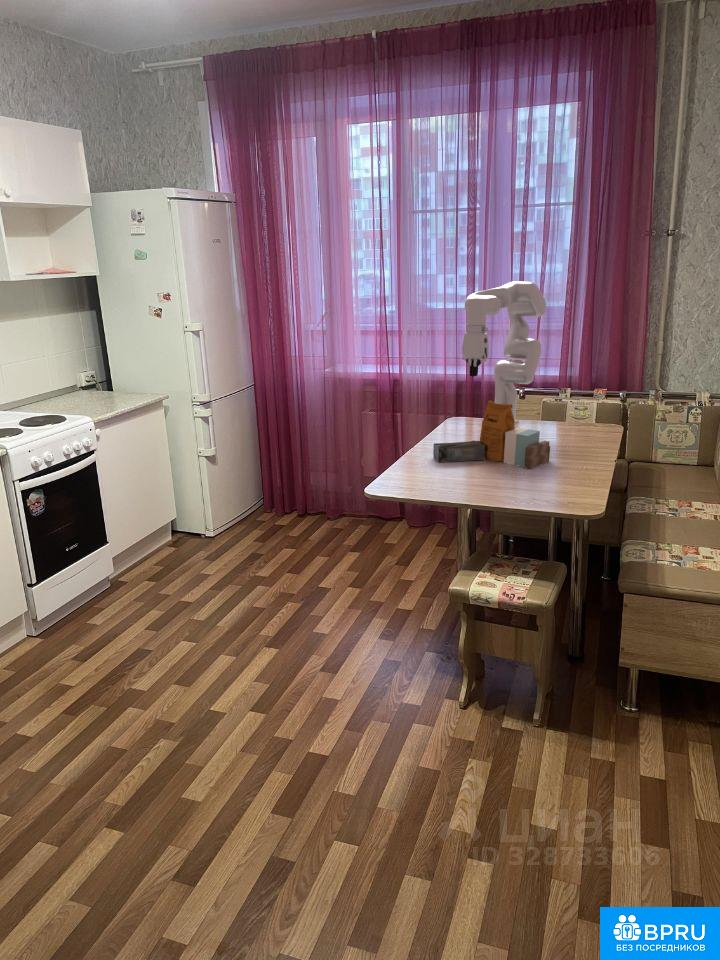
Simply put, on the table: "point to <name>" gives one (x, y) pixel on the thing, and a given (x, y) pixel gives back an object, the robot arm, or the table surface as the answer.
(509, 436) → the book cream
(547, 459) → the brown patterned block
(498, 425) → the coffee package
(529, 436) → the book teal
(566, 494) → the table surface
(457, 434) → the table surface
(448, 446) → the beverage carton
